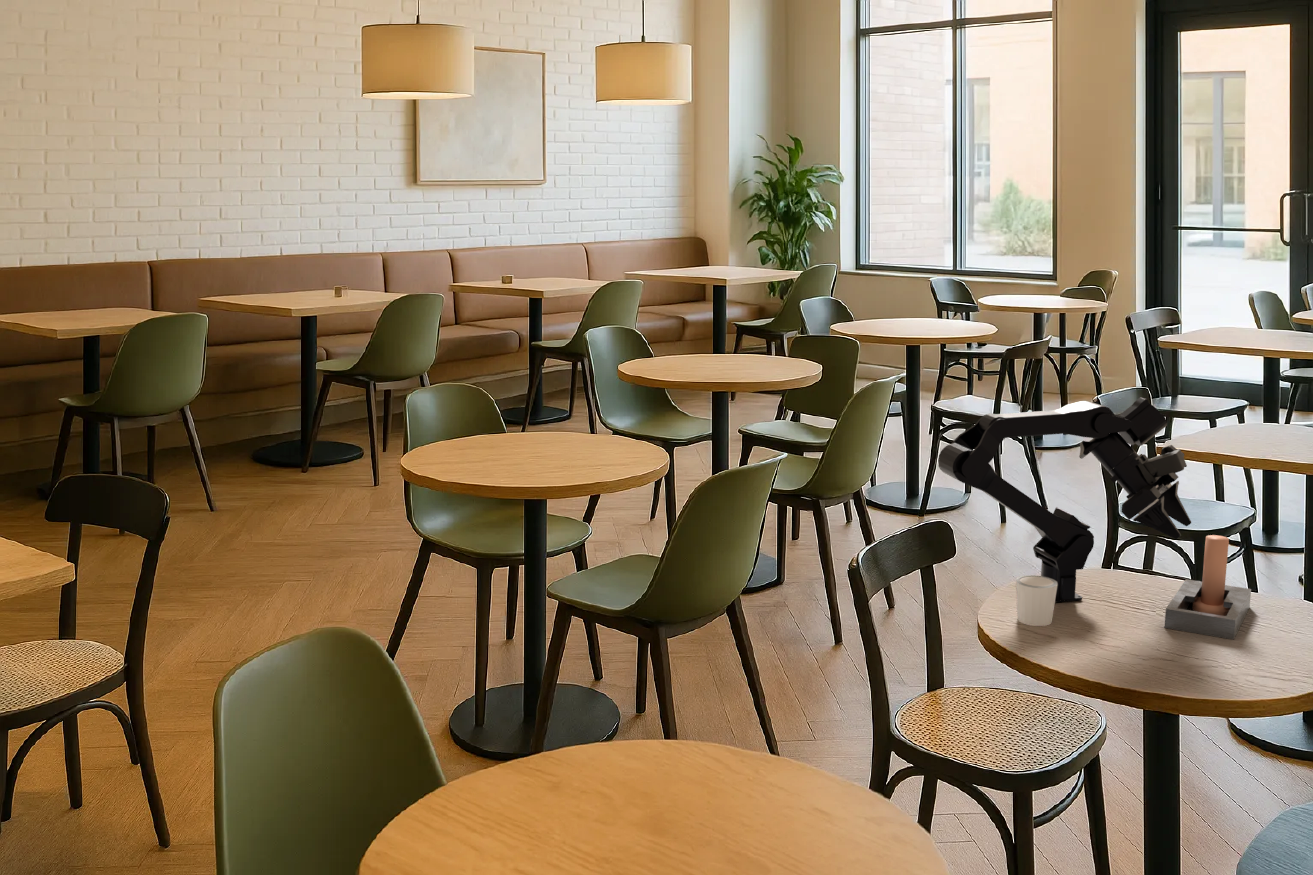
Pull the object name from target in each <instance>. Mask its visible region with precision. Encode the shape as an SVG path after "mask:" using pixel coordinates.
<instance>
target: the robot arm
mask: <svg viewBox="0 0 1313 875" xmlns="http://www.w3.org/2000/svg"><path fill="white" fill-rule="evenodd" d="M1167 426H1168V420H1167V419H1166V417H1165V415H1164V413H1161V411H1160V410H1158V409H1157V407H1155V406H1154V405H1153V404H1151V403H1150V402H1149V400H1148V399H1147V398H1144V397H1138V398H1137V399H1136V400H1135V401H1134V402H1133V403H1132V405H1130V406H1129V407H1128V408H1126V409H1125V410H1124V411H1123V412H1121V413H1120V414H1117V413H1114V412H1113V411H1112V409H1111V408H1110V407H1107V406H1106V405H1101V404H1099V403H1095V402H1092V401H1089V400H1080V401H1077V402H1073V403H1068V404H1065V405H1064V406H1062V407H1061V408H1057V409H1051V410H1041V411H1040V410H1036V411H1024V412H1010V413H1009V412H1008V413H993V412H992V413H991V412H990V413H986V414H984V415H982V416H980V418H979V419H978V420H977V421H976V423H974V424H973V425H971V427H969V428H967V429H966V430H965V431H963V432H961V433H960V434H959V435H957V437H956V438H955V439H954V440H953V441H952V442H951V443H950V444H947V445H946V446H944V447H943V448H942V449H941V451H940V452H939V454H938V459H937V462H938V463H937V465H938V468H939V470H940V471H941V472H942V473H944V474H945V475H947V476H949V477H951V478H952V479H954V480H957V481H958V482H960V483H963V484H965V485H967V486H969V487H972V488H975V489H976V490H980V491H981V492H983V493H985V494H986V495H987V496H989V497H991V498H992V499H993V500H995V501H996V502H997V503H999V504H1000V505H1002V506H1003V507H1005V508H1006V509H1007V510H1009V511H1010V512H1013V514H1015V515H1016V516H1018V517H1019V518H1021V519H1022V520H1023V521H1025V522H1026V523H1029V524H1030V525H1031V526H1032V527H1034V529H1035V530H1036V531H1037V533H1038V534H1039V535H1040V537H1041V538H1040V540H1038V542H1037V543H1035V544H1034V545H1033V546H1032V548H1033V549H1032V550H1033V553H1034V556H1035V558H1036V559H1039V560H1041V566H1040V567H1041V568H1040V576H1043V577H1048V578H1051V579H1054V580H1055V581H1057V583H1058V585H1057V591H1056V598H1055V603H1062V602H1063V603H1064V602H1072V601H1074V602H1075V601H1082V600H1083V596H1082V595H1080V594H1078V593H1077V592H1076V588H1077V585H1076V583H1077V571H1079V570H1083V569H1084V568H1085V564H1086V562H1087V560H1088V557H1089V555H1090V554H1091V552H1092V550H1093V548H1094V546H1095V545H1094V544H1095V540H1094V539H1095V536H1094V534H1093V533H1092V532H1091V531H1090V530H1089V529H1090V528H1091V526H1090V525H1088V524H1086V523H1084V522H1082V521H1080V520H1079V519H1078V518H1077V517H1076V516H1075V515H1073V514H1072V513H1070V512H1068V511H1065V510H1064V509H1062V508H1059V507H1058V506H1056V507H1055V509H1054V511H1053V512H1051V511H1050V510H1048V509H1047V508H1045V507H1044V506H1043V505H1041V504H1039V503H1038V502H1037V501H1035V500H1034V499H1033V498H1031V497H1030V496H1028V495H1027V494H1026V493H1024V492H1022V491H1021V490H1020V489H1018V488H1017V487H1016V486H1014V485H1012V484H1011V483H1010V482H1008V481H1007V480H1005V479H1004V478H1002V477H1001V476H999V474H998V473H997V472H996V470H995V469H994V468H993V466H992V465H991V464H990V463H991V461H992V460H994V458H995V455H996V453H997V451H998V449H999V447H1000V445H1001V444H1002V442H1003V441H1004V440H1005V439H1008V438H1019V437H1020V438H1021V437H1022V438H1023V437H1037V436H1050V435H1069V436H1070V435H1071V436H1076V437H1082V438H1089V439H1090V440H1089V441H1086V440H1082V441H1081V442H1080V443H1079V447H1080V448H1079V449H1080V451H1079V456H1078V457H1079V458H1080V459H1085V458H1086V456H1088V455H1090V453H1091V454H1092V455H1093V456H1094V457H1095V459H1097V461H1098V462H1099V463H1100V464H1101V465H1102V466H1103V468H1105V470H1106V471H1107V472H1108V473H1109V474H1110V475H1111V477H1110V478H1109V479H1110V480H1111V482H1112V483H1116V482H1117V483H1118V485H1120V487H1121V488H1122V489H1124V491H1125V492H1126V493H1127V495H1126V496H1125V497H1126V500H1125V501H1124V502H1123V503H1122V504H1121V513H1122V514H1123V515H1124V517H1125V518H1126V519H1127V520H1128V521H1130V520H1131V519H1132V518H1133V519H1132V521H1133V522H1138V523H1139V524H1142V525H1144V526H1146V527H1149V528H1152V529H1154V530H1156V531H1158V532H1160V533H1162V534H1164V535H1166V536H1168V537H1171V539H1174V540H1177V539H1179V538H1180V537H1181V536H1182V534H1181V532H1180V531H1179V529H1178V528H1177V526H1176V524H1175V523H1174V522H1173V521H1172V519H1173V520H1175V521H1176V522H1177V523H1179V524H1181V525H1183V526H1185V527H1189V526H1190V525H1191V524H1192V520H1191V518H1190V516H1189V515H1188V513H1187V511H1186V508H1185V507H1184V505H1183V502H1182V501H1181V499H1180V497H1179V494H1178V489H1179V485H1180V480H1178V479H1179V476H1178V474H1176V473H1179V472H1182V471H1184V470H1185V468H1187V467H1188V466H1187V463H1186V460H1185V452H1182V450H1181V449H1180V448H1176V447H1175V446H1174V445H1172V444H1170V445H1167V446H1163V448H1161V450H1160V451H1161V452H1160V455H1159V454H1158V455H1156V456H1154V457H1152V458H1149V457H1148V456H1147V455H1146V454H1145V453H1144V454H1143V453H1140V454H1138V453H1137V452H1136V451H1135V450H1134V448H1133V447H1132V446H1134V445H1136V446H1139V447H1141V446H1143V445H1145V444H1146V443H1147V442H1148V441H1149V440H1151V439H1152V438H1153V437H1155V436H1156V435H1157V434H1158V433H1160V432H1161V431H1162V430H1164V429H1165V428H1166V427H1167ZM1176 480H1177V481H1176ZM1172 483H1173V484H1172ZM1171 518H1172V519H1171Z"/></svg>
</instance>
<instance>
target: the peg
mask: <svg viewBox="0 0 1313 875" xmlns="http://www.w3.org/2000/svg"><path fill="white" fill-rule="evenodd" d="M1229 541H1230V539H1229V537H1227V536H1223V535H1216V534H1212V535H1211V534H1210V535H1209V534H1208V535H1206V536H1205V544H1204V553H1203V554H1204V555H1203V570H1202V581H1201V582H1202V591H1201V597H1197V599H1196V600H1195V602H1192V611H1197V612H1203V613H1209V614H1215V615H1221V616H1227V614H1228V612H1229V610H1230V608H1226V607H1224V591H1225V585H1226V579H1227V578H1226V576H1227V567H1228V566H1227V565H1228V556H1229V555H1228V554H1229V553H1228V552H1229V545H1230V544H1229V543H1230V542H1229Z"/></svg>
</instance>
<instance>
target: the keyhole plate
mask: <svg viewBox="0 0 1313 875" xmlns="http://www.w3.org/2000/svg"><path fill="white" fill-rule="evenodd" d="M1201 591H1202V581H1200V580H1193V579H1185V580H1184V581H1183V583H1182V584H1181V586H1180V588H1179V589H1178V590H1177V591H1176V593H1175V594H1174V596H1173V598H1172V599H1171V601H1170V602H1169V603H1168V605H1167V606H1166V608H1165V613H1164V614H1165V616H1164V629H1170V630H1177V631H1181V632H1186V633H1187V632H1188V633H1193V634H1199V635H1205V636H1210V637H1215V638H1216V637H1217V638H1221V637H1222V638H1223V639H1228V640H1234V639H1235V638H1236V636H1237V634H1238V632H1239V630H1240V628H1241V626H1242V624H1243V621H1244V620H1245V617H1246V615H1247V613H1248V611H1249V609H1250V606H1251V598H1252V597H1251V595H1252V589H1251V588H1247V587H1246V588H1245V587H1240V586H1234V585H1226V584H1225V591H1224V607H1226V608H1230V610H1229V612H1228V614H1227V616H1221V615H1215V614H1209V613H1203V612H1197V611H1194V610H1191V609H1190V610H1189V609H1188V608H1189V606H1190V604H1192V603H1193V602H1195V600H1196V599H1197V597H1201Z"/></svg>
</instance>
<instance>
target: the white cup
mask: <svg viewBox="0 0 1313 875" xmlns="http://www.w3.org/2000/svg"><path fill="white" fill-rule="evenodd" d="M1057 585H1058V583H1057V581H1055V580H1054V579H1051V578H1048V577H1043V576H1041V575H1022V576H1018V577H1016V578H1015V592H1016V593H1015V594H1016V595H1015V596H1016V616H1017V621H1018V622H1019V623H1021V624H1024V625H1027V626H1032V627H1033V626H1035V627H1046V626H1049V625H1050V624H1052V622H1053V618H1054V617H1053V616H1054V611H1055V610H1054V609H1055V604H1056V602H1055V598H1056V591H1057Z"/></svg>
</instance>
